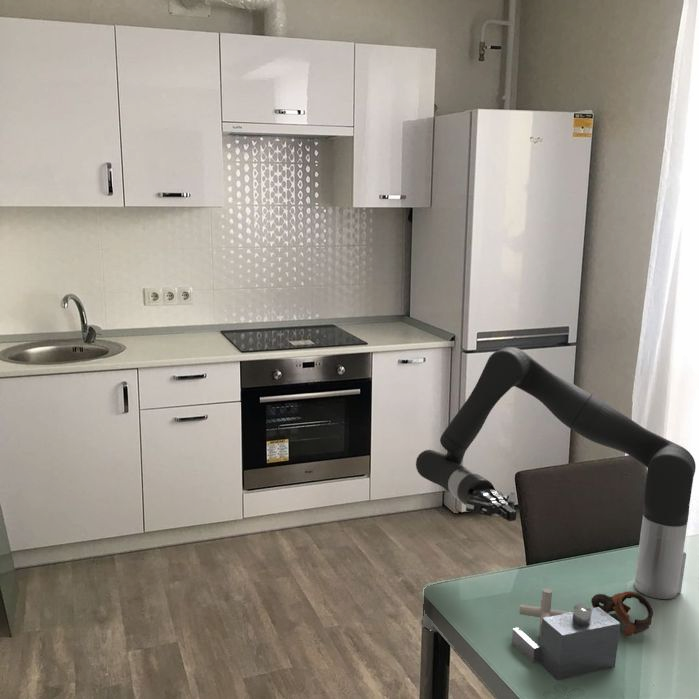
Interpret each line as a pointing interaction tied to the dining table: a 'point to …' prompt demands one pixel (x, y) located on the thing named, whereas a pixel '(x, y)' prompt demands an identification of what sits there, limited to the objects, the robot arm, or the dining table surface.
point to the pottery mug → (624, 610)
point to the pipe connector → (542, 608)
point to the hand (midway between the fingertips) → (513, 516)
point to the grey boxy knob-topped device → (573, 642)
